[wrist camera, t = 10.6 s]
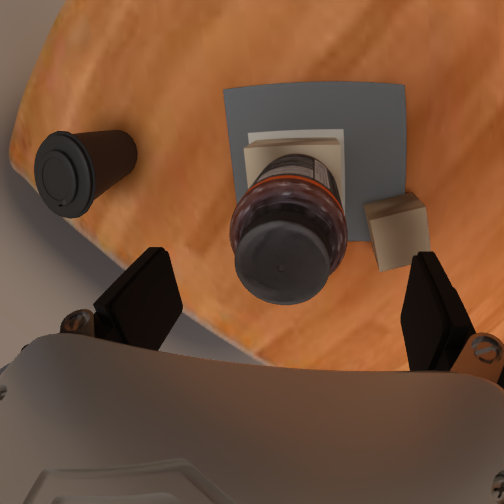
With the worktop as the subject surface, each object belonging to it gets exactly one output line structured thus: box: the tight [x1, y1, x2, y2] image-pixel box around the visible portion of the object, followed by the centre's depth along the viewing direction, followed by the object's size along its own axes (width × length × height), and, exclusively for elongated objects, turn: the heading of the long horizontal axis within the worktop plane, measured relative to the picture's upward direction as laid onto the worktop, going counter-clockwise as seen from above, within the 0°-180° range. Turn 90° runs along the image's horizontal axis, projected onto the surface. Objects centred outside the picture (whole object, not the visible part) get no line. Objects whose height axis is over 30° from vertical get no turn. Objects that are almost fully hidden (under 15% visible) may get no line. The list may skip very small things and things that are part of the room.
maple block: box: [244, 137, 341, 199], centre depth 24 cm, size 7×7×5 cm
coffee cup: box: [34, 130, 137, 219], centre depth 25 cm, size 8×8×10 cm
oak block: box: [363, 192, 431, 272], centre depth 25 cm, size 5×5×4 cm
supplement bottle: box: [230, 154, 348, 305], centre depth 17 cm, size 6×6×11 cm
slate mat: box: [223, 82, 406, 241], centre depth 26 cm, size 16×15×1 cm
